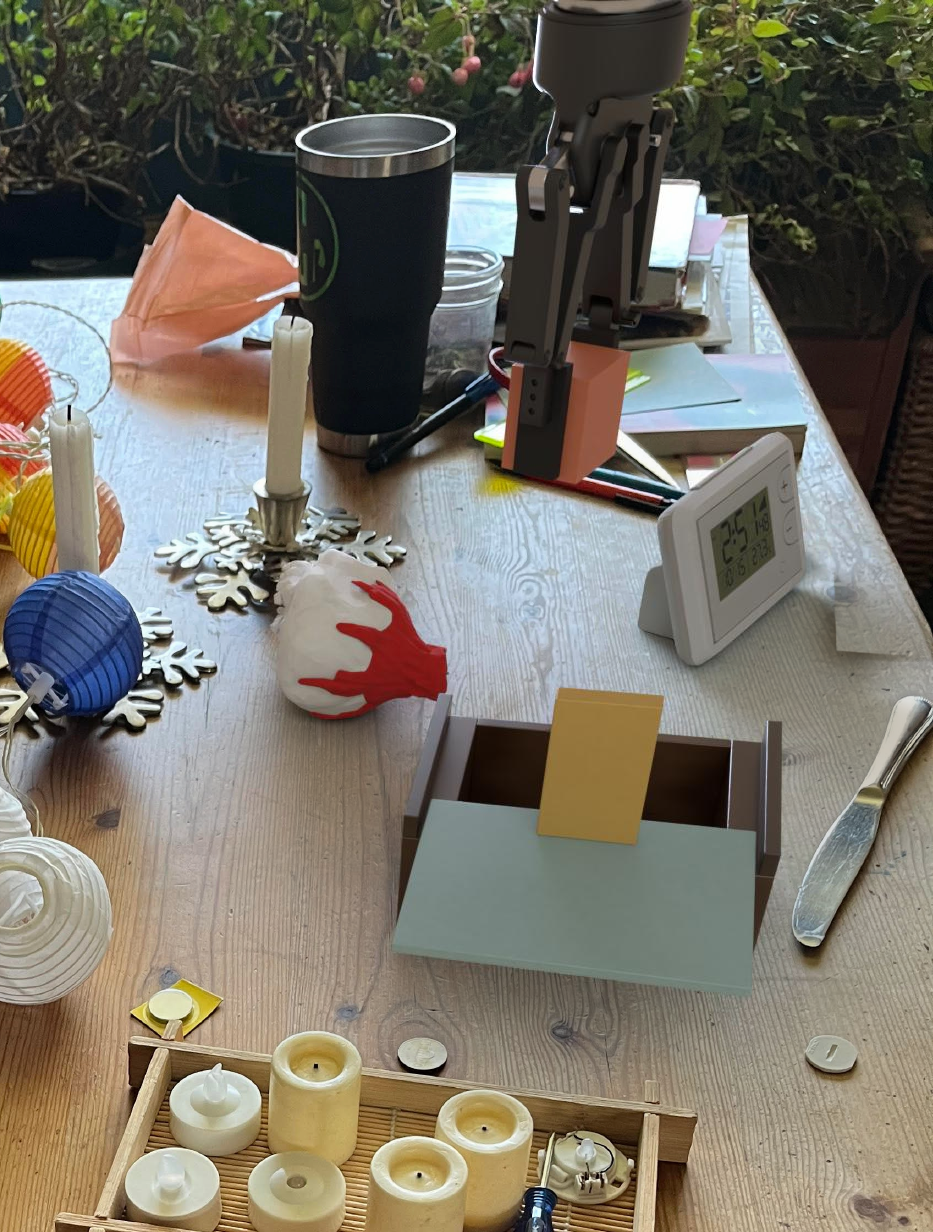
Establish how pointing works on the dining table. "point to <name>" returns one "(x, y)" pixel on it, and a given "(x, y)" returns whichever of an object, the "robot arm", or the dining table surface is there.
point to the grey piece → (586, 869)
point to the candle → (349, 639)
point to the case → (676, 793)
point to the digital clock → (726, 551)
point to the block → (580, 409)
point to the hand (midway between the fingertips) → (559, 455)
